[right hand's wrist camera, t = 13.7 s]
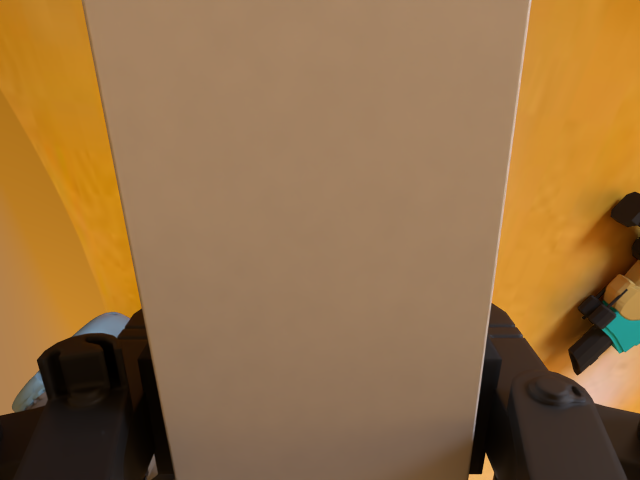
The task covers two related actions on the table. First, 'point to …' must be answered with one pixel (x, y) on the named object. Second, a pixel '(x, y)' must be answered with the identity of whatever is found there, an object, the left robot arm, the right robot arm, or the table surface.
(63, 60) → the table surface
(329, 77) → the beam
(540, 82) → the table surface
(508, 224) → the table surface
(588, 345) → the toy gun
